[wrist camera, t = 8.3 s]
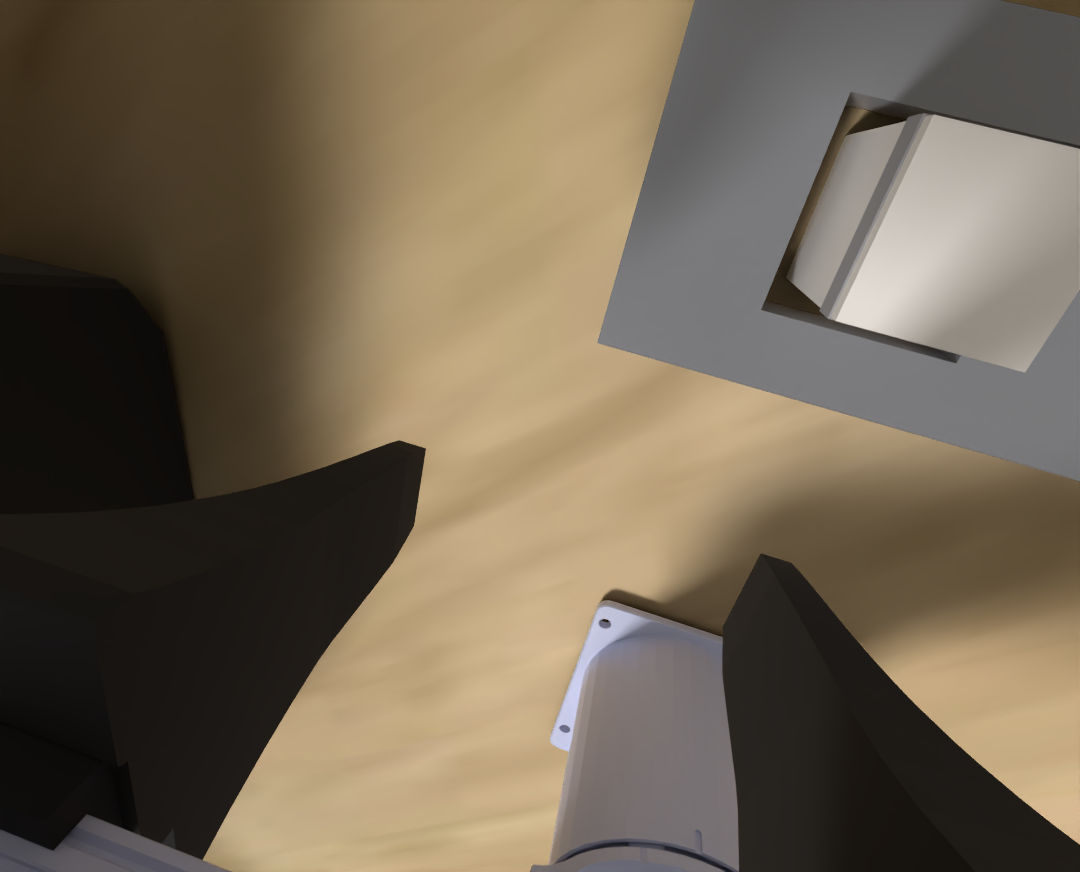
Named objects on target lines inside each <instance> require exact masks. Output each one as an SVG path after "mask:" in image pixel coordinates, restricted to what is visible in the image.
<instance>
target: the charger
mask: <svg viewBox="0 0 1080 872" xmlns="http://www.w3.org/2000/svg"><path fill="white" fill-rule="evenodd" d="M786 278H787V279H788V280H789V281H790V282H791V283H793V284H794V285H795V286H796V287H797V288H798V289H799V290H801V291H802V292H803V293H804V294H805V295H806V296H807V297H809V298H810V299H811V300H812V301H813V302H814V303H815V304H817V305H818V306H819V307H820V310H819V311H820V312H821V313H822V314H823V315H824V316H825V317H826V318H828V319H831V320H835V321H837V322H841V323H845V324H848V325H852V326H856V327H859V328H863V329H867V330H870V331H874V332H878V333H881V334H885V335H889V336H892V337H896V338H900V339H903V340H907V341H911V342H914V343H918V344H922V345H925V346H929V347H933V348H937V349H940V350H944V351H948V352H951V353H955V354H959V355H962V356H966V357H970V358H973V359H977V360H981V361H984V362H988V363H992V364H995V365H999V366H1003V367H1006V368H1010V369H1014V370H1017V371H1021V372H1026V370H1027V369H1028V367H1029V366H1030V364H1031V363H1032V361H1033V360H1034V358H1035V357H1036V355H1037V354H1038V352H1039V351H1040V349H1041V348H1042V346H1043V345H1044V343H1045V342H1046V340H1047V339H1048V337H1049V336H1050V334H1051V333H1052V331H1053V329H1054V328H1055V326H1056V325H1057V323H1058V322H1059V320H1060V319H1061V317H1062V316H1063V314H1064V313H1065V311H1066V310H1067V308H1068V307H1069V305H1070V304H1071V302H1072V301H1073V299H1074V298H1075V296H1076V295H1077V293H1078V292H1079V290H1080V149H1078V148H1074V147H1070V146H1065V145H1061V144H1057V143H1053V142H1048V141H1044V140H1040V139H1036V138H1031V137H1027V136H1023V135H1019V134H1014V133H1010V132H1006V131H1002V130H997V129H993V128H989V127H985V126H980V125H976V124H972V123H968V122H963V121H959V120H955V119H951V118H946V117H942V116H938V115H930V114H926V113H922V114H918V115H914V116H910V117H908V118H907V121H904V122H900V123H896V124H892V125H888V126H883V127H879V128H875V129H871V130H867V131H863V132H858V133H854V134H850V135H846V136H845V137H844V140H843V142H842V145H841V147H840V149H839V152H838V154H837V157H836V159H835V161H834V164H833V166H832V168H831V171H830V173H829V176H828V178H827V180H826V183H825V185H824V188H823V190H822V192H821V195H820V197H819V199H818V202H817V204H816V207H815V209H814V211H813V214H812V216H811V219H810V221H809V223H808V226H807V228H806V230H805V233H804V235H803V238H802V240H801V242H800V245H799V247H798V250H797V252H796V254H795V257H794V259H793V261H792V264H791V266H790V269H789V271H788V273H787V276H786Z"/></svg>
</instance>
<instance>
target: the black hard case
mask: <svg viewBox="0 0 1080 872" xmlns="http://www.w3.org/2000/svg"><path fill="white" fill-rule="evenodd" d="M191 500H193V495H192V490H191V484H190V479H189V473H188V468H187V462H186V457H185V451H184V446H183V440H182V435H181V429H180V424H179V418H178V413H177V407H176V402H175V396H174V391H173V385H172V380H171V374H170V369H169V363H168V358H167V352H166V347H165V341H164V336H163V331H162V330H161V329H160V328H159V326H158V325H157V324H156V323H155V322H154V320H153V319H152V318H151V317H150V315H149V314H148V313H147V312H146V310H145V309H144V308H143V307H142V305H141V304H140V303H139V302H138V300H137V299H136V298H135V297H134V295H133V294H132V293H131V292H130V290H129V289H128V288H126V287H125V286H123V285H122V284H121V283H119V282H118V281H116V280H115V279H112V278H108V277H103V276H98V275H94V274H89V273H85V272H80V271H76V270H71V269H66V268H62V267H57V266H53V265H48V264H43V263H39V262H34V261H30V260H25V259H21V258H16V257H11V256H7V255H2V254H0V514H39V513H75V512H93V511H106V510H119V509H130V508H139V507H149V506H158V505H165V504H171V503H178V502H184V501H191Z"/></svg>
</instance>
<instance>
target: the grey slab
mask: <svg viewBox="0 0 1080 872" xmlns="http://www.w3.org/2000/svg"><path fill="white" fill-rule="evenodd" d="M845 105H848V106H852V107H856V108H860V109H864V110H869V111H873V112H877V113H881V114H885V115H890V116H894V117H898V118H902V119H906V120H907V118H908V117H910V116H914V115H918V114H922V113H926V114H930V115H938V116H942V117H946V118H951V119H955V120H959V121H963V122H968V123H972V124H976V125H980V126H985V127H989V128H993V129H997V130H1002V131H1006V132H1010V133H1014V134H1019V135H1023V136H1027V137H1031V138H1036V139H1040V140H1044V141H1048V142H1053V143H1057V144H1061V145H1065V146H1070V147H1074V148H1078V149H1080V17H1076V16H1071V15H1067V14H1062V13H1058V12H1053V11H1048V10H1044V9H1039V8H1034V7H1030V6H1025V5H1021V4H1016V3H1011V2H1007V1H1002V0H695V2H694V5H693V9H692V12H691V16H690V19H689V23H688V26H687V30H686V33H685V37H684V40H683V44H682V47H681V51H680V54H679V58H678V61H677V65H676V69H675V72H674V76H673V79H672V83H671V86H670V90H669V93H668V97H667V100H666V104H665V107H664V111H663V114H662V118H661V121H660V125H659V128H658V132H657V135H656V139H655V142H654V146H653V149H652V153H651V156H650V160H649V163H648V167H647V170H646V174H645V177H644V181H643V184H642V188H641V191H640V195H639V198H638V202H637V205H636V209H635V212H634V216H633V220H632V223H631V227H630V230H629V234H628V237H627V241H626V244H625V248H624V251H623V255H622V258H621V262H620V265H619V269H618V272H617V276H616V279H615V283H614V286H613V290H612V293H611V297H610V300H609V304H608V307H607V311H606V314H605V318H604V321H603V325H602V328H601V332H600V335H599V339H598V342H597V343H599V344H603V345H606V346H610V347H613V348H617V349H620V350H624V351H627V352H631V353H634V354H638V355H641V356H645V357H648V358H652V359H655V360H659V361H662V362H666V363H669V364H673V365H676V366H680V367H683V368H687V369H690V370H694V371H697V372H701V373H704V374H708V375H711V376H714V377H718V378H721V379H725V380H728V381H732V382H735V383H739V384H742V385H746V386H749V387H753V388H756V389H760V390H763V391H767V392H770V393H774V394H777V395H781V396H784V397H788V398H791V399H795V400H798V401H802V402H805V403H809V404H812V405H816V406H819V407H823V408H826V409H829V410H833V411H836V412H840V413H843V414H847V415H850V416H854V417H857V418H861V419H864V420H868V421H871V422H875V423H878V424H882V425H885V426H889V427H892V428H896V429H899V430H903V431H906V432H910V433H913V434H917V435H920V436H924V437H927V438H931V439H934V440H938V441H941V442H945V443H948V444H951V445H955V446H958V447H962V448H965V449H969V450H972V451H976V452H979V453H983V454H986V455H990V456H993V457H997V458H1000V459H1004V460H1007V461H1011V462H1014V463H1018V464H1021V465H1025V466H1028V467H1032V468H1035V469H1039V470H1042V471H1046V472H1049V473H1053V474H1056V475H1060V476H1063V477H1067V478H1070V479H1073V480H1077V481H1080V290H1079V292H1078V293H1077V295H1076V296H1075V298H1074V299H1073V301H1072V302H1071V304H1070V305H1069V307H1068V308H1067V310H1066V311H1065V313H1064V314H1063V316H1062V317H1061V319H1060V320H1059V322H1058V323H1057V325H1056V326H1055V328H1054V329H1053V331H1052V333H1051V334H1050V336H1049V337H1048V339H1047V340H1046V342H1045V343H1044V345H1043V346H1042V348H1041V349H1040V351H1039V352H1038V354H1037V355H1036V357H1035V358H1034V360H1033V361H1032V363H1031V364H1030V366H1029V367H1028V369H1027V370H1026V372H1021V371H1017V370H1014V369H1010V368H1006V367H1003V366H999V365H995V364H992V363H988V362H984V361H981V360H977V359H973V358H970V357H966V356H962V355H959V354H955V353H951V352H948V351H944V350H940V349H937V348H933V347H929V346H925V345H922V344H918V343H914V342H911V341H907V340H903V339H900V338H896V337H892V336H889V335H885V334H881V333H878V332H874V331H870V330H867V329H863V328H859V327H856V326H852V325H848V324H845V323H841V322H837V321H835V320H831V319H828V318H826V317H824V316H820V315H817V314H813V313H809V312H806V311H802V310H798V309H795V308H791V307H787V306H784V305H780V304H776V303H773V302H769V301H765V299H766V297H767V294H768V292H769V289H770V287H771V284H772V282H773V279H774V277H775V275H776V272H777V270H778V267H779V265H780V262H781V260H782V258H783V255H784V253H785V250H786V248H787V245H788V243H789V241H790V238H791V236H792V233H793V231H794V228H795V226H796V224H797V221H798V219H799V216H800V214H801V211H802V209H803V207H804V204H805V202H806V199H807V197H808V194H809V192H810V190H811V187H812V185H813V182H814V180H815V177H816V175H817V172H818V170H819V168H820V165H821V163H822V160H823V158H824V155H825V153H826V151H827V148H828V146H829V143H830V141H831V138H832V136H833V134H834V131H835V129H836V126H837V124H838V121H839V119H840V117H841V114H842V112H843V109H844V107H845Z"/></svg>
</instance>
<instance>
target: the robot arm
mask: <svg viewBox="0 0 1080 872" xmlns="http://www.w3.org/2000/svg"><path fill="white" fill-rule="evenodd" d="M425 451H426V449H425V448H422V447H419V446H416V445H413V444H409V443H406V442H403V441H400V440H399V441H395V442H392V443H389V444H386V445H383V446H381V447H378V448H375V449H373V450H370V451H367V452H365V453H362V454H359V455H357V456H354V457H351V458H348V459H346V460H343V461H340V462H338V463H335V464H332V465H329V466H327V467H324V468H321V469H318V470H314V471H311V472H308V473H305V474H302V475H299V476H295V477H292V478H289V479H286V480H283V481H280V482H276V483H272V484H269V485H265V486H261V487H257V488H253V489H249V490H244V491H240V492H235V493H231V494H226V495H221V496H216V497H210V498H203V499H197V500H191V501H184V502H178V503H171V504H165V505H158V506H149V507H139V508H130V509H119V510H106V511H93V512H75V513H39V514H0V872H231V871H228V870H226V869H223V868H221V867H218V866H216V865H213V864H211V863H208V862H206V861H203V858H204V856H205V854H206V852H207V850H208V849H209V847H210V845H211V843H212V841H213V839H214V838H215V836H216V834H217V832H218V830H219V828H220V827H221V825H222V823H223V821H224V819H225V817H226V815H227V814H228V812H229V810H230V808H231V806H232V805H233V803H234V801H235V799H236V798H237V796H238V794H239V792H240V791H241V789H242V787H243V785H244V784H245V782H246V780H247V778H248V777H249V775H250V773H251V771H252V770H253V768H254V766H255V764H256V763H257V761H258V759H259V757H260V756H261V754H262V752H263V750H264V749H265V747H266V745H267V744H268V742H269V740H270V739H271V737H272V735H273V734H274V732H275V730H276V729H277V727H278V725H279V723H280V722H281V720H282V718H283V717H284V715H285V713H286V712H287V710H288V708H289V707H290V705H291V703H292V702H293V700H294V699H295V697H296V695H297V694H298V692H299V691H300V689H301V687H302V686H303V684H304V683H305V681H306V679H307V678H308V676H309V675H310V673H311V671H312V670H313V668H314V667H315V665H316V663H317V662H318V660H319V659H320V657H321V656H322V655H323V653H324V652H325V650H326V649H327V648H328V646H329V645H330V643H331V642H332V641H333V639H334V638H335V637H336V635H337V634H338V633H339V632H340V630H341V629H342V628H343V626H344V625H345V624H346V623H347V621H348V620H349V619H350V617H351V616H352V615H353V614H354V612H355V611H356V610H357V608H358V607H359V606H360V605H361V603H362V602H363V601H364V599H365V598H366V597H367V596H368V594H369V593H370V592H371V591H372V589H373V588H374V587H375V585H376V584H377V583H378V581H379V580H380V579H381V577H382V576H383V575H384V574H385V572H386V571H387V570H388V568H389V567H390V566H391V564H392V563H393V561H394V560H395V558H396V556H397V555H398V553H399V551H400V550H401V548H402V546H403V544H404V543H405V541H406V539H407V537H408V536H409V534H410V532H411V530H412V528H413V527H414V522H415V516H416V509H417V503H418V496H419V490H420V483H421V477H422V470H423V464H424V457H425ZM601 619H607V620H609V621H610V622H604V621H602V620H601ZM550 741H551V743H552V744H553V745H554V746H555V747H557V748H560V749H563V750H566V751H569V753H568V758H567V764H566V769H565V775H564V780H563V786H562V791H561V797H560V802H559V808H558V814H557V819H556V825H555V830H554V836H553V841H552V847H551V852H550V858H549V863H548V865H533V866H531V871H530V872H1080V845H1079V844H1078V843H1077V842H1075V841H1074V840H1073V839H1071V838H1070V837H1069V836H1067V835H1066V834H1065V833H1063V832H1062V831H1061V830H1059V829H1058V828H1057V827H1055V826H1054V825H1053V824H1051V823H1050V822H1049V821H1048V820H1046V819H1045V818H1044V817H1043V816H1041V815H1040V814H1039V813H1038V812H1036V811H1035V810H1034V809H1033V808H1031V807H1030V806H1029V805H1028V804H1026V803H1025V802H1024V801H1023V800H1021V799H1020V798H1019V797H1018V796H1016V795H1015V794H1014V793H1013V792H1012V791H1011V790H1009V789H1008V788H1007V787H1006V786H1005V785H1003V784H1002V783H1001V782H1000V781H999V780H998V779H996V778H995V777H994V776H993V775H992V774H990V773H989V772H988V771H987V770H986V769H985V768H983V767H982V766H981V765H980V764H979V763H977V762H976V761H975V760H974V759H973V758H972V757H971V756H970V755H968V754H967V753H966V752H965V751H964V750H963V749H962V748H961V747H959V746H958V745H957V744H956V743H955V742H954V741H953V740H952V739H951V738H950V737H949V736H948V735H947V734H946V733H944V732H943V731H942V730H941V729H940V728H939V727H938V726H937V725H936V724H935V723H934V722H933V721H932V720H931V719H930V718H929V717H928V716H927V715H926V714H925V713H924V712H923V711H921V710H920V709H919V708H918V707H917V706H916V705H915V704H914V703H913V702H912V701H911V700H910V699H909V698H908V696H907V695H906V694H905V693H904V692H903V691H902V690H901V689H900V688H899V687H898V686H897V685H896V684H895V683H894V682H893V681H892V680H891V678H890V677H889V676H888V675H887V674H886V673H885V672H884V671H883V670H882V669H881V668H880V667H879V665H878V664H877V663H876V662H875V661H874V660H873V659H872V658H871V657H870V655H869V654H868V653H867V652H866V651H865V650H864V649H863V647H862V646H861V645H860V644H859V643H858V642H857V640H856V639H855V638H854V637H853V636H852V635H851V633H850V632H849V631H848V630H847V629H846V627H845V626H844V625H843V624H842V623H841V621H840V620H839V619H838V618H837V617H836V615H835V614H834V613H833V612H832V610H831V609H830V608H829V607H828V606H827V604H826V603H825V602H824V601H823V599H822V598H821V597H820V596H819V594H818V593H817V592H816V591H815V590H814V588H813V587H812V586H811V585H810V584H809V582H808V581H807V580H806V579H805V578H804V576H803V575H802V574H801V573H800V572H799V571H798V570H797V569H796V568H795V567H794V566H793V564H792V563H789V562H786V561H783V560H780V559H777V558H773V557H770V556H767V555H764V554H760V556H759V558H758V560H757V562H756V564H755V566H754V568H753V570H752V572H751V574H750V575H749V577H748V579H747V581H746V583H745V585H744V587H743V589H742V591H741V593H740V595H739V597H738V599H737V601H736V603H735V605H734V607H733V609H732V611H731V612H730V614H729V616H728V618H727V620H726V622H725V624H724V626H723V637H721V636H717V635H714V634H711V633H708V632H705V631H702V630H699V629H696V628H693V627H690V626H687V625H684V624H681V623H678V622H675V621H672V620H669V619H666V618H663V617H660V616H657V615H654V614H651V613H647V612H644V611H641V610H638V609H635V608H632V607H629V606H626V605H623V604H620V603H617V602H614V601H610V600H606V601H602V602H600V603H599V605H598V606H597V609H596V612H595V614H594V617H593V620H592V623H591V625H590V628H589V631H588V634H587V636H586V639H585V642H584V645H583V647H582V650H581V653H580V655H579V658H578V661H577V664H576V666H575V669H574V672H573V675H572V677H571V680H570V683H569V685H568V688H567V691H566V694H565V696H564V699H563V702H562V705H561V707H560V710H559V713H558V716H557V718H556V721H555V724H554V726H553V729H552V732H551V736H550Z"/></svg>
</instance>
